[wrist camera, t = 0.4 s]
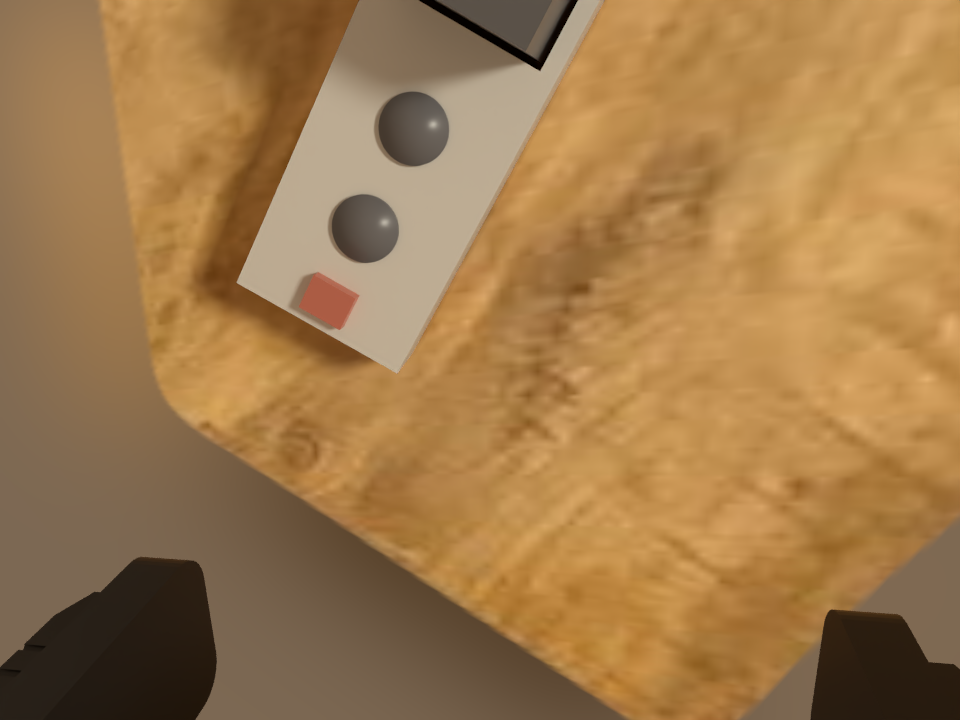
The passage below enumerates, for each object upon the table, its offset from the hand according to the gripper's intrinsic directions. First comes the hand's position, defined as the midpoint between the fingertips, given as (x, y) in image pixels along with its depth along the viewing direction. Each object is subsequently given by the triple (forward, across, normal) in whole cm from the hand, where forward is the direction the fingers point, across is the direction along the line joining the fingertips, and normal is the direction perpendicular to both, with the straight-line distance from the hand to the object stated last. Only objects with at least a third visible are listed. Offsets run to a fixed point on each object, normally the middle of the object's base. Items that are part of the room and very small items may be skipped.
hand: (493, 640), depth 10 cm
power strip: (+26, +6, -7) cm, 27 cm away
